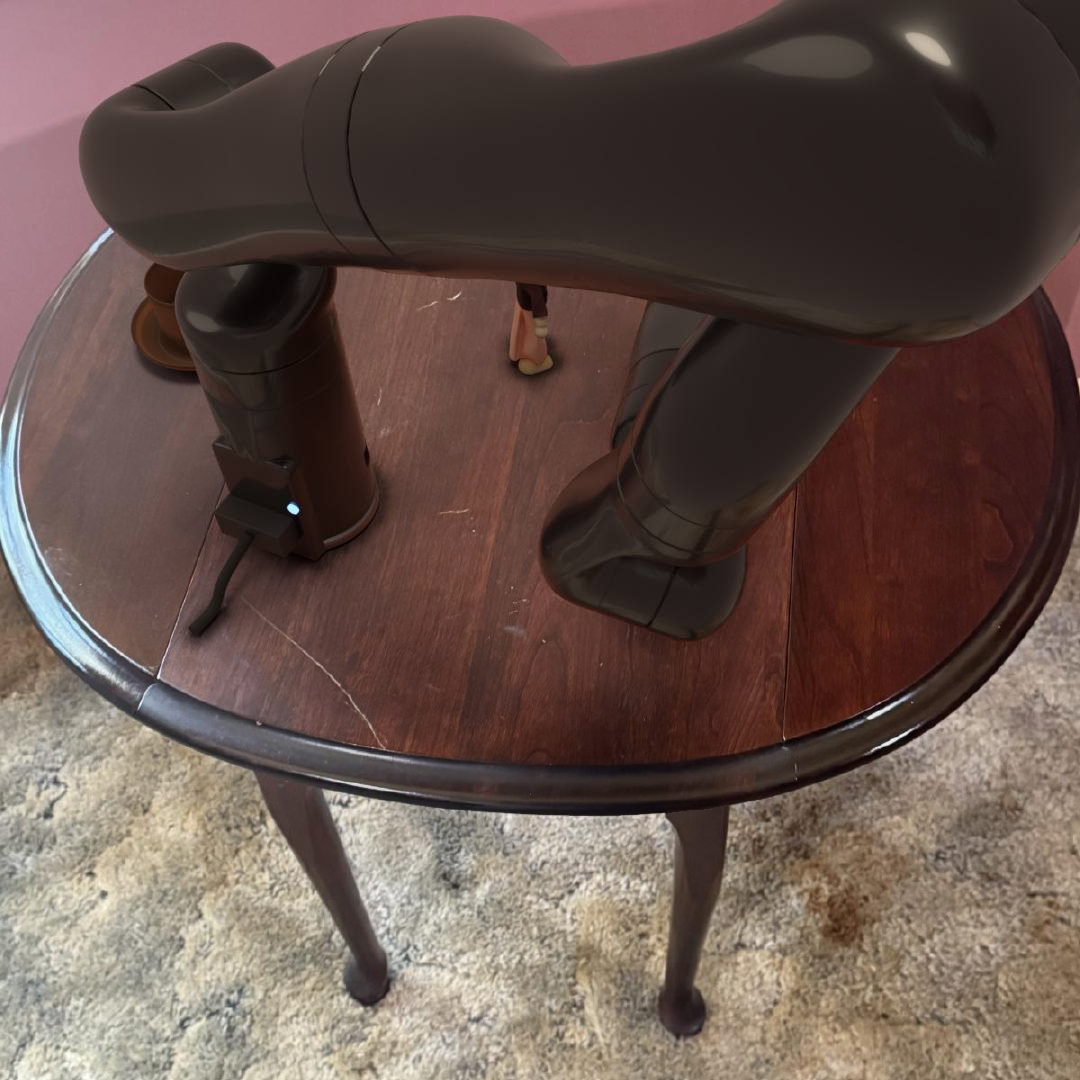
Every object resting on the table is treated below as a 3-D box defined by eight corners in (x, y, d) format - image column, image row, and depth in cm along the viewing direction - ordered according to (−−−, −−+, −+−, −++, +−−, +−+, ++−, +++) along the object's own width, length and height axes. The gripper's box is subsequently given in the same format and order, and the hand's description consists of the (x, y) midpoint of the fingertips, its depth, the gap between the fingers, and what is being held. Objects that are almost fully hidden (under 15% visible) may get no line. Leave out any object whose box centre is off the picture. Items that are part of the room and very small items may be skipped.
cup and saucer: (109, 338, 93) (83, 280, 88) (224, 268, 98) (205, 209, 93) (196, 406, 88) (173, 348, 83) (312, 328, 93) (297, 268, 88)
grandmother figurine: (494, 335, 91) (483, 205, 81) (538, 323, 92) (532, 192, 82) (527, 397, 87) (520, 267, 77) (573, 384, 88) (571, 253, 78)
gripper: (832, 311, 62) (860, 147, 71) (584, 274, 65) (642, 120, 74) (810, 406, 68) (838, 243, 77) (584, 368, 71) (638, 215, 80)
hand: (743, 183), depth 76 cm, fingers open, 8 cm apart
